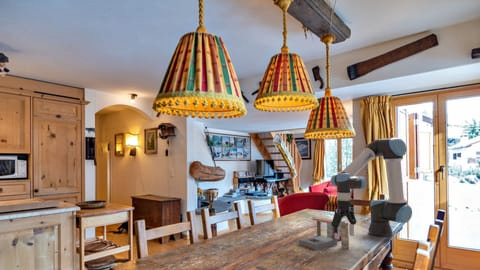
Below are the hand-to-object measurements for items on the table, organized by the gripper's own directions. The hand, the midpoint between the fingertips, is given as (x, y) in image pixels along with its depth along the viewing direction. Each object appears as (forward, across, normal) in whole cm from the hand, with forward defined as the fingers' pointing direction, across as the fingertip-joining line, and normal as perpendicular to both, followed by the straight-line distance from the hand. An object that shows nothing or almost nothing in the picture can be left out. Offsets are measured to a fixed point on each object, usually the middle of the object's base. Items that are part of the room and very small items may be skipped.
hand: (344, 237), depth 176 cm
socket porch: (+6, +7, -14) cm, 17 cm away
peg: (+6, 0, 0) cm, 6 cm away
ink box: (+6, -14, -17) cm, 23 cm away
